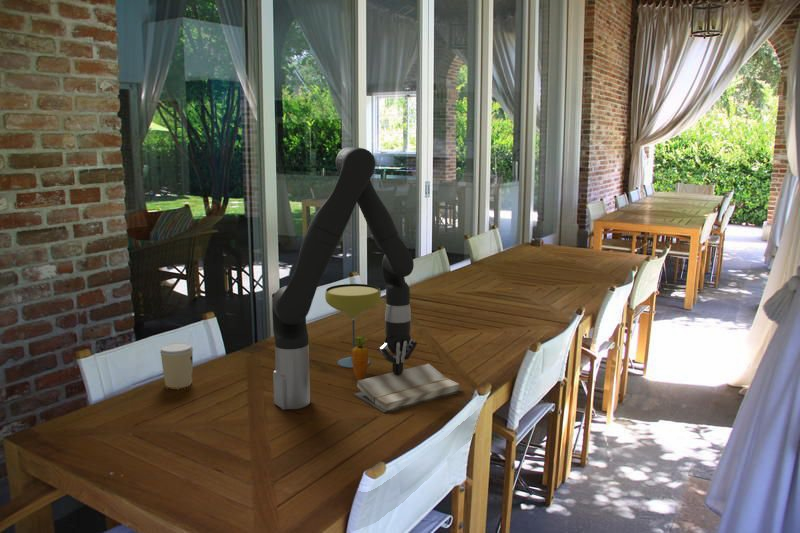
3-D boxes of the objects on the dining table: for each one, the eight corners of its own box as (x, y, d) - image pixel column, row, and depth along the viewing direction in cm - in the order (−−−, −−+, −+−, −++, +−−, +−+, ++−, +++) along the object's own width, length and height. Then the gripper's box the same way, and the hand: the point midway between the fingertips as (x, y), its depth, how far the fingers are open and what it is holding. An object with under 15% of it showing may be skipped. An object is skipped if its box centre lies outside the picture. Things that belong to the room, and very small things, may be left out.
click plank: (373, 402, 187) (374, 396, 186) (356, 386, 193) (357, 380, 193) (445, 383, 201) (446, 377, 201) (427, 369, 208) (428, 363, 207)
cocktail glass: (348, 376, 209) (347, 298, 204) (315, 361, 223) (314, 288, 218) (392, 363, 221) (392, 290, 216) (358, 350, 234) (357, 281, 230)
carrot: (360, 378, 207) (359, 332, 204) (371, 382, 204) (371, 335, 201) (348, 383, 203) (348, 335, 200) (360, 386, 200) (360, 338, 197)
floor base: (384, 413, 181) (384, 404, 180) (353, 395, 194) (353, 386, 193) (462, 391, 197) (463, 382, 196) (429, 375, 209) (429, 368, 209)
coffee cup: (200, 384, 202) (198, 346, 200) (172, 393, 195) (169, 353, 193) (185, 377, 208) (182, 340, 206) (156, 385, 201) (154, 347, 199)
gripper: (386, 324, 189) (386, 382, 192) (423, 317, 196) (423, 373, 200) (371, 318, 195) (372, 375, 198) (408, 312, 202) (408, 366, 206)
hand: (397, 374), depth 199 cm, fingers closed
